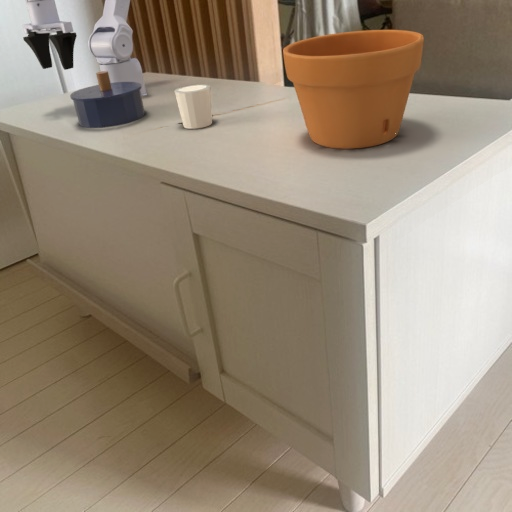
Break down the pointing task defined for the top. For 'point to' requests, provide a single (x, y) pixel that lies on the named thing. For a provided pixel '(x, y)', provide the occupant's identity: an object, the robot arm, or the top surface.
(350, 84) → the flower pot
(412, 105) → the top surface
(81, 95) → the pot lid
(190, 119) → the white cup
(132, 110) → the pot
